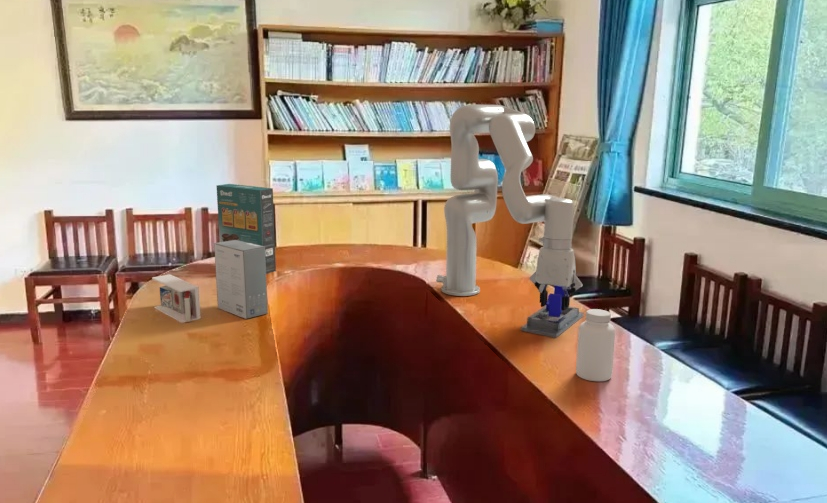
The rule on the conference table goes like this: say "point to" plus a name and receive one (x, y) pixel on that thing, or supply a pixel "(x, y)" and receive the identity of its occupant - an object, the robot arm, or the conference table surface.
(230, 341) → the conference table surface
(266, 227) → the cake mix box
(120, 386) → the conference table surface
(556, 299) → the cable clip
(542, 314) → the grey rectangular tray
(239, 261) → the hard drive box
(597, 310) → the pill bottle
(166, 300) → the cigarette display
